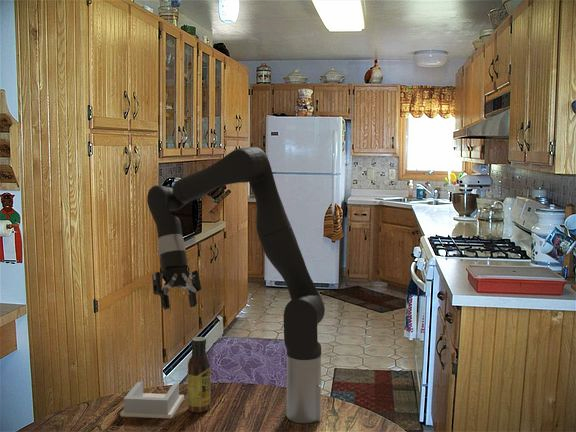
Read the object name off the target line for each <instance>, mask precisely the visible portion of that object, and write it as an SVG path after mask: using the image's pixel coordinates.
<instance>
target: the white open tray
mask: <svg viewBox="0 0 576 432" xmlns="http://www.w3.org/2000/svg"><path fill="white" fill-rule="evenodd" d="M184 399H185V395H184V394H180V383H177V382H173V384H172V385H171V386H170V387H169V390H167V393H149V392H148V393H147V392H144V382H143V381H137V382H136V383H135V385H134V386H133V387H132V388H131V389H130V390H129V392H128V393H127V394H126V396H124V397H123V409H122V410H121V411H120V417H128V418H153V419H154V418H156V419H173V416H174V415H175V414H176V413H177V410H178V409H179V407H180V405H181V403H182V402H183V401H184Z"/></svg>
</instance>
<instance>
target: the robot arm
mask: <svg viewBox="0 0 576 432" xmlns="http://www.w3.org/2000/svg"><path fill="white" fill-rule="evenodd" d="M274 177H275V176H274V174H273V170H272V165H271V163H270V160H269V157H268V155H267V154H266V153H265V151H264V150H262V148H260V147H257V146H248V147H240V148H236V149H234V150H232V151H231V152H229V153H227V154H226V155H225V156H224V157H222V158H220V159H219V160H218V161H216V162H214V163H213V164H211V165H210V166H207V167H206V168H203V169H201V170H198V171H196V172H194V173H192V174H188V175H187V176H184V177H182V178H179V179H178V180H176V181H175V182H174V184H173V186H171V187H169V186H164V185H159V184H158V185H154V186H151V188H150V189H149V190H148V193H147V196H146V201H147V206H148V209H149V211H150V213H151V217H152V218H153V221H154V224H155V225H156V232H157V241H158V246H157V247H158V254H159V259H160V260H159V261H160V269H161V272H160V271H157V272H155V273H152V274H151V275H152V277H151V279H152V292H153V293H152V294H153V295H155V296H156V295H157V296H159V297H160V300H161V306H162V308H163V310H164V311H165V310H170V308H171V304H170V298H169V297H170V296H169V295H168V294H169V292H170V290H171V289H173V288H182V289H183V290H185V291H186V292H187V294H188V302H189V308H195V307H196V306H197V304H198V301H197V292H199V291H201V290H202V286H201V280H200V279H201V278H200V276H199V271H198V270H196V269H195V270H193V271H189V270H188V265H189V263H188V258H187V251H186V250H187V249H186V244H185V240H184V236H183V229H182V223H181V220H180V218H179V217H178V216H176V215H174V214H172V212H175V211H179V210H181V209H182V208H184V206H185V205H187V204H188V203H189V202H193V201H195V200H197V199H199V198H202V197H203V196H206V195H209V193H211V192H212V191H214V190H216V189H218V188H221V187H222V186H227V185H233V184H234V185H235V184H238V183H239V184H240V183H242V184H243V183H249V185H250V187H251V189H252V193H253V196H254V199H255V203H256V216H255V217H256V220H255V222H256V223H255V224H256V233H257V237H258V239H259V242H260V245H261V247H262V250H263V252H264V255H265V256H266V258H267V259H268V260H269V262H270V263H271V265H272V266H273V267H274V268H275V270H276V271H277V272H278V273H279V275H280V276H281V277H282V279H283V281H284V283H285V285H286V287H287V291H288V293H289V297H290V300H289V302H287V304H286V305H285V307H284V310H283V342H284V346H285V348H286V399H285V401H286V403H285V404H286V407H285V408H286V413H285V414H286V418H287V419H288V420H289V421H291V422H293V423H296V424H312V423H315V422H321V419H322V417H321V414H322V344H321V343H320V342H319V340H318V325H319V324H320V323H321V321H322V320H323V318H324V317H325V310H326V309H325V303H324V300H323V299H322V297H321V295H320V293H319V290H318V289H317V287H316V285H315V283H314V281H313V279H312V276H311V275H310V273H309V270H308V268H307V266H306V262H305V259H304V257H303V254H302V251H301V249H300V245H299V243H298V241H297V238H296V235H295V233H294V230H293V228H292V225H291V222H290V220H289V218H288V215H287V212H286V210H285V208H284V204H283V202H282V199H281V196H280V194H279V191H278V187H277V184H276V181H275V178H274ZM190 279H191V280H190ZM162 280H163V281H164V283H163V285H162Z"/></svg>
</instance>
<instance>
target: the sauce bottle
mask: <svg viewBox="0 0 576 432" xmlns="http://www.w3.org/2000/svg"><path fill="white" fill-rule="evenodd" d="M190 343H191V357H190V358H189V359H188V362H187V409H188V410H189V412H191V413H196V414H197V413H203V412H207V411H209V410H210V407H211V405H210V404H211V364H210V361H209V358H208V356H207V351H206V349H207V347H206V345H207V338H206V337H204V336H194V337H193V338H191V342H190Z"/></svg>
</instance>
